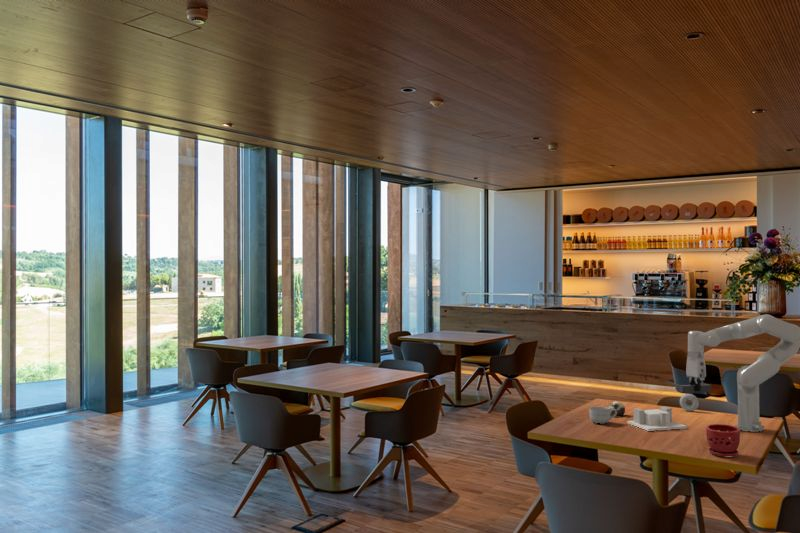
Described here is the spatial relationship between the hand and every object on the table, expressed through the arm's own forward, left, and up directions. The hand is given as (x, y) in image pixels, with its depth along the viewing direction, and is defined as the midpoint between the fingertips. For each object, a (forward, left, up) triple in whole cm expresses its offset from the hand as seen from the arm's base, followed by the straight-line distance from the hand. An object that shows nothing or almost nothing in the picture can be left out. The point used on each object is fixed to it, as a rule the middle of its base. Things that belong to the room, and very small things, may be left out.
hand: (695, 390), depth 337 cm
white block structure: (+4, +21, -18) cm, 28 cm away
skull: (+32, +26, -18) cm, 45 cm away
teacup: (+17, +43, -18) cm, 50 cm away
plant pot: (-50, +26, -18) cm, 59 cm away
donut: (+29, -19, -18) cm, 39 cm away
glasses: (+5, 0, -1) cm, 5 cm away
